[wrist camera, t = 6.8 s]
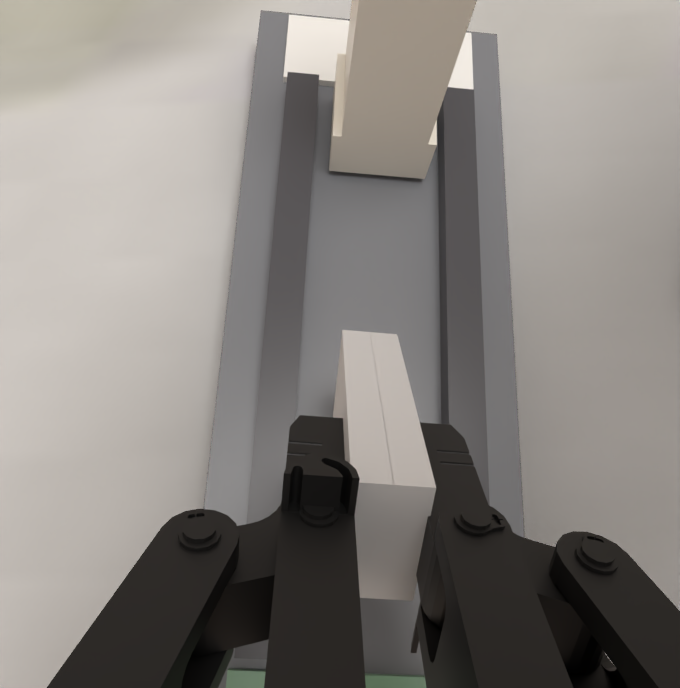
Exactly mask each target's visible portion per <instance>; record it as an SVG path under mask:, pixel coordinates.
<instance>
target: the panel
mask: <svg viewBox="0 0 680 688" xmlns="http://www.w3.org/2000/svg"><path fill="white" fill-rule="evenodd" d="M349 21H350V19H341V18H331V17H322V16H312V15H302V14H292V13H282V12H272V11H262V10H261V14H260V23H259V31H258V40H257V49H256V57H255V66H254V75H253V83H252V92H251V101H250V110H249V118H248V127H247V136H246V144H245V153H244V162H243V171H242V179H241V188H240V197H239V205H238V214H237V223H236V232H235V240H234V249H233V258H232V266H231V275H230V284H229V292H228V301H227V310H226V319H225V327H224V336H223V345H222V353H221V362H220V371H219V380H218V388H217V397H216V406H215V414H214V423H213V432H212V441H211V449H210V458H209V467H208V475H207V484H206V493H205V501H204V509H208V510H216V511H218V512H221V513H223V514H226V515H228V516H229V517H230V518H231V519H232V520H233V521H234V522H235V523H236V525H237V526H239V525H245V524H250V523H254V522H257V521H260V520H262V519H264V518H267V517H269V516H270V515H271V514H272V513H274V512H275V511H276V510H277V509H278V507H279V506H280V504H281V502H282V490H283V477H284V472H285V469H286V460H287V450H288V440H289V430H290V426H291V425H292V424H293V422H294V421H295V420H296V419H297V418H298V417H299V416H300V415H307V416H320V417H333V410H334V401H335V392H336V383H337V374H338V365H339V356H340V347H341V338H342V330H352V331H363V332H375V333H387V334H397V336H398V340H399V343H400V347H401V351H402V355H403V359H404V363H405V367H406V371H407V375H408V379H409V383H410V387H411V391H412V394H413V398H414V402H415V406H416V410H417V414H418V418H419V422H421V423H434V424H447V425H452V426H453V427H454V428H455V429H456V430H457V431H458V432H459V433H460V434H461V435H462V436H463V437H464V438H465V441H466V444H467V447H468V449H469V455H471V458H472V461H473V463H474V467H475V469H476V472H477V474H478V477H479V480H480V483H481V485H482V488H483V491H484V494H485V496H486V499H487V502H488V505H489V506H491V507H493V508H495V509H496V510H497V511H498V512H500V513H501V514H502V515H504V517H505V518H506V520H507V521H508V523H509V524H510V526H511V529H512V531H513V533H515V534H517V535H519V536H521V537H524V538H525V536H524V518H523V500H522V481H521V463H520V445H519V427H518V409H517V391H516V372H515V354H514V336H513V318H512V300H511V281H510V263H509V245H508V227H507V209H506V191H505V172H504V154H503V136H502V118H501V100H500V81H499V63H498V45H497V34H489V33H479V32H470V31H466V34H465V37H464V40H463V43H462V46H461V49H460V52H459V55H458V58H457V61H456V64H455V67H454V70H453V73H452V75H451V78H450V81H449V84H448V87H447V90H446V93H445V96H444V99H443V102H442V105H441V108H440V111H439V114H438V117H437V146H436V149H435V151H434V154H433V157H432V160H431V163H430V165H429V168H428V171H427V174H426V177H425V179H419V178H407V177H395V176H384V175H372V174H360V173H349V172H337V171H329V160H330V143H331V126H332V109H333V93H334V82H335V72H336V62H337V53H341V54H346V47H347V38H348V30H349ZM419 605H420V594H419V589H418V583H417V584H416V589H415V594H414V598H413V601H407V600H390V599H373V598H360V607H361V622H362V637H363V653H364V668H365V683H366V688H427V687H426V681H425V674H424V668H423V662H422V655H421V649H420V642H419V644H418V648H417V653H411V642H412V638H413V633H414V628H415V623H416V619H417V614H418V609H419ZM268 641H269V640H265V641H261V642H257V643H253V644H249V645H245V646H241V647H237V648H234V650H233V655H232V657H231V660H230V662H229V664H228V666H227V669H226V671H225V673H224V676H223V678H222V680H221V682H220V685H219V687H218V688H264V683H265V672H266V662H267V651H268Z"/></svg>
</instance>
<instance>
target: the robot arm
mask: <svg viewBox="0 0 680 688" xmlns="http://www.w3.org/2000/svg"><path fill="white" fill-rule="evenodd" d="M417 583H418V589H419V594H420V605H419V609H418V614H417V619H416V623H415V628H414V633H413V638H412V642H411V653H417V648H418V644H419V642H420V649H421V655H422V662H423V668H424V674H425V681H426V687H427V688H680V611H679V610H678V609H677V608H676V607H675V606H674V604H673V603H672V602H671V601H670V600H669V599H668V598H667V597H666V596H665V594H664V593H663V592H662V591H661V590H660V589H659V588H658V587H657V586H656V585H655V583H654V582H653V581H652V580H651V579H650V578H649V577H648V576H647V575H646V574H645V572H644V571H643V570H642V569H641V568H640V567H639V566H638V565H637V564H636V562H635V561H634V560H633V559H632V558H631V557H630V556H629V555H628V554H627V553H626V552H625V551H624V550H623V549H621V548H620V547H619V546H618V545H617V544H615V543H613V542H612V541H610V540H608V539H606V538H604V537H602V536H599V535H596V534H592V533H589V532H571V533H567V534H564V535H563V536H562V537H561V538H560V539H559V540H558V542H557V544H556V547H552V546H549V545H546V544H542V543H539V542H535V541H532V540H529V539H526V538H524V537H521V536H519V535H517V534H515V533H513V531H512V529H511V526H510V524H509V523H508V521H507V520H506V518H505V517H504V515H502V514H501V513H500V512H498V511H497V510H496V509H495V508H493V507H491V506H489V505H488V502H487V499H486V496H485V494H484V491H483V488H482V485H481V483H480V480H479V477H478V474H477V472H476V469H475V467H474V463H473V461H472V458H471V455H469V449H468V447H467V444H466V441H465V438H464V437H463V436H462V435H461V434H460V433H459V432H458V431H457V430H456V429H455V428H454V427H453V426H452V425H447V424H434V423H421V422H419V418H418V414H417V410H416V406H415V402H414V398H413V394H412V391H411V387H410V383H409V379H408V375H407V371H406V367H405V363H404V359H403V355H402V351H401V347H400V343H399V340H398V336H397V334H387V333H375V332H363V331H352V330H342V338H341V347H340V356H339V365H338V374H337V383H336V392H335V401H334V410H333V417H320V416H307V415H300V416H299V417H298V418H297V419H296V420H295V421H294V422H293V424H292V425H291V426H290V430H289V440H288V450H287V460H286V469H285V472H284V477H283V490H282V502H281V504H280V506H279V507H278V509H277V510H276V511H275V512H274V513H272V514H271V515H270V516H269V517H267V518H264V519H262V520H260V521H257V522H254V523H250V524H245V525H239V526H237V525H236V523H235V522H234V521H233V520H232V519H231V518H230V517H229V516H228V515H226V514H223V513H221V512H218V511H216V510H208V509H196V510H190V511H185V512H183V513H181V514H178V515H176V516H174V517H172V518H171V519H170V520H169V521H168V522H167V523H166V524H165V525H164V526H162V528H161V529H160V531H159V532H158V533H157V535H156V536H155V538H154V539H153V540H152V542H151V543H150V545H149V546H148V547H147V549H146V550H145V552H144V553H143V554H142V556H141V557H140V559H139V560H138V561H137V563H136V564H135V565H134V567H133V568H132V570H131V571H130V572H129V574H128V575H127V577H126V578H125V579H124V581H123V582H122V584H121V585H120V586H119V588H118V589H117V591H116V592H115V593H114V595H113V596H112V598H111V599H110V600H109V602H108V603H107V604H106V606H105V607H104V609H103V610H102V611H101V613H100V614H99V616H98V617H97V618H96V620H95V621H94V623H93V624H92V625H91V627H90V628H89V630H88V631H87V632H86V634H85V635H84V637H83V638H82V639H81V641H80V642H79V644H78V645H77V646H76V648H75V649H74V650H73V652H72V653H71V655H70V656H69V657H68V659H67V660H66V662H65V663H64V664H63V666H62V667H61V669H60V670H59V671H58V673H57V674H56V676H55V677H54V678H53V680H52V681H51V683H50V684H49V685H48V687H47V688H218V687H219V685H220V682H221V680H222V678H223V676H224V673H225V671H226V669H227V666H228V664H229V662H230V660H231V657H232V655H233V650H234V648H237V647H241V646H245V645H249V644H253V643H257V642H261V641H265V640H269V641H268V651H267V662H266V672H265V683H264V688H366V683H365V668H364V653H363V637H362V622H361V607H360V598H373V599H390V600H407V601H413V598H414V594H415V589H416V584H417ZM605 653H606V654H607V656H608V657H609V659H610V660H611V661H612V663H613V664H614V665H615V666H614V665H613V664H612V663H611V662H610V660H609V659H608V658H607V656H606V655H605Z"/></svg>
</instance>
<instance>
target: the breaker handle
mask: <svg viewBox="0 0 680 688" xmlns="http://www.w3.org/2000/svg"><path fill="white" fill-rule="evenodd" d="M476 2H477V0H352V4H351V12H350V21H349V30H348V38H347V47H346V54H341V53H337V62H336V72H335V82H334V93H333V109H332V126H331V143H330V160H329V171H337V172H349V173H360V174H372V175H384V176H395V177H407V178H419V179H425V177H426V174H427V171H428V168H429V165H430V163H431V160H432V157H433V154H434V151H435V149H436V146H437V117H438V114H439V111H440V108H441V105H442V102H443V99H444V96H445V93H446V90H447V87H448V84H449V81H450V78H451V75H452V73H453V70H454V67H455V64H456V61H457V58H458V55H459V52H460V49H461V46H462V43H463V40H464V37H465V34H466V31H467V28H468V25H469V22H470V19H471V16H472V13H473V10H474V7H475V5H476Z"/></svg>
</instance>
